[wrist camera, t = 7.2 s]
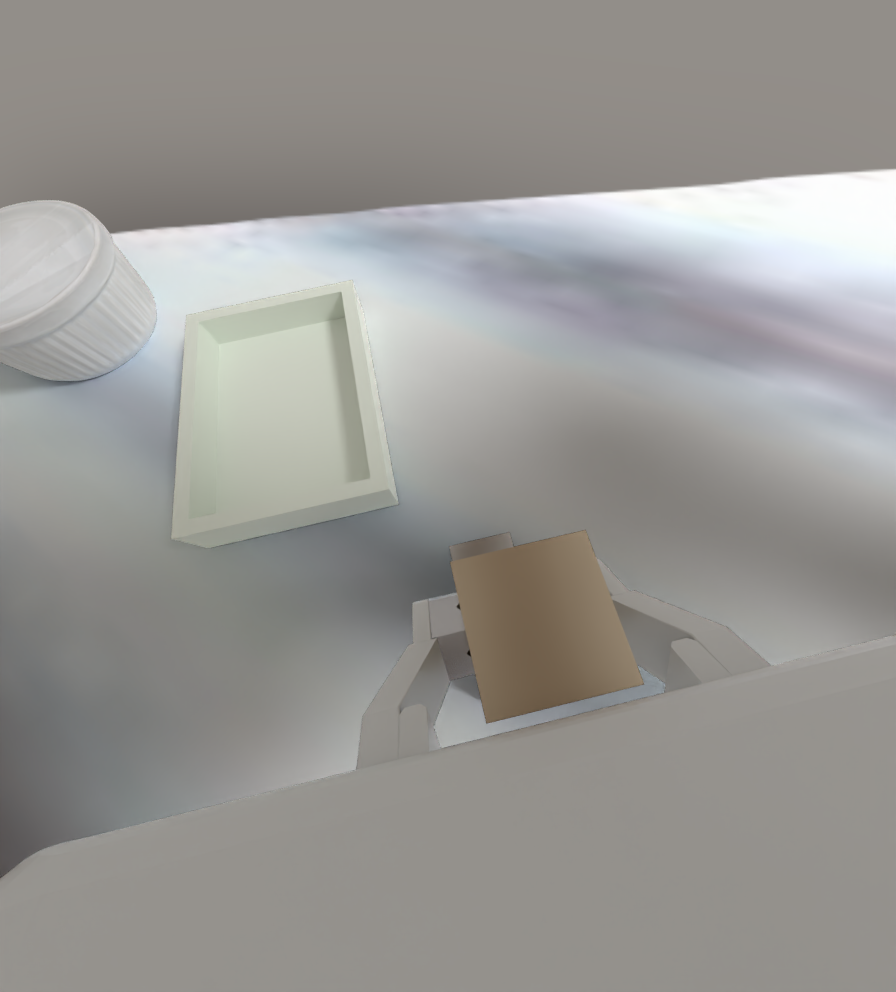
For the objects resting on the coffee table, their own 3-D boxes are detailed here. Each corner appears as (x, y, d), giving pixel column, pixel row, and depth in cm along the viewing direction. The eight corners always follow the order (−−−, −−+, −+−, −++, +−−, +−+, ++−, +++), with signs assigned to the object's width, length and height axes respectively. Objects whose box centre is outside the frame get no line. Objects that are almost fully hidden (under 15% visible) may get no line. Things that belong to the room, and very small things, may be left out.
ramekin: (145, 396, 22) (50, 332, 17) (-10, 398, 22) (-146, 338, 17) (192, 275, 25) (126, 193, 20) (58, 280, 26) (-38, 202, 21)
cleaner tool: (506, 538, 17) (554, 449, 8) (549, 686, 15) (695, 820, 5) (450, 551, 17) (430, 477, 8) (484, 703, 15) (518, 865, 5)
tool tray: (363, 312, 23) (352, 279, 21) (398, 504, 18) (389, 488, 16) (213, 344, 23) (186, 315, 20) (208, 548, 18) (170, 539, 16)
